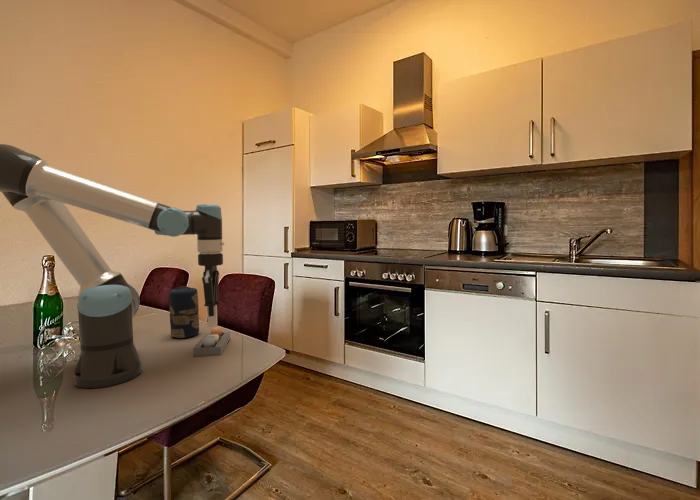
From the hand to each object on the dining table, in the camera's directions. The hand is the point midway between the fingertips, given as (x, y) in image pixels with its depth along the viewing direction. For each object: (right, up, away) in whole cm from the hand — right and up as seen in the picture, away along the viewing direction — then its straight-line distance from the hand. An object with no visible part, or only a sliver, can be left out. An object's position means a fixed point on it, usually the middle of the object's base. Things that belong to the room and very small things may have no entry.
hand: (212, 325), depth 120 cm
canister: (-15, -7, +13) cm, 21 cm away
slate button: (+1, -5, -5) cm, 8 cm away
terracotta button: (-1, -5, +6) cm, 7 cm away
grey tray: (0, -7, 0) cm, 7 cm away
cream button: (0, -6, 0) cm, 6 cm away
